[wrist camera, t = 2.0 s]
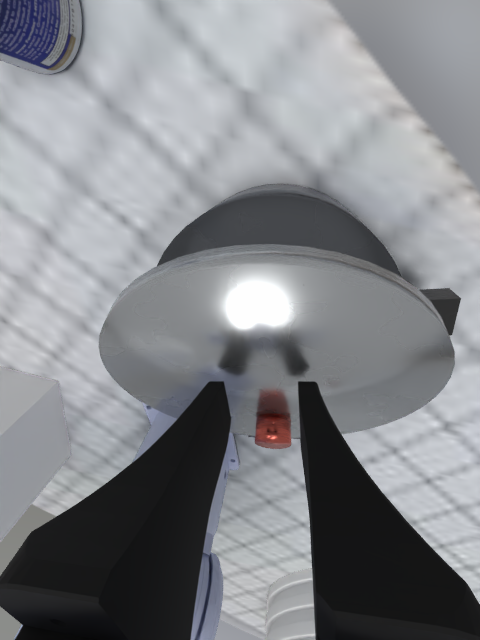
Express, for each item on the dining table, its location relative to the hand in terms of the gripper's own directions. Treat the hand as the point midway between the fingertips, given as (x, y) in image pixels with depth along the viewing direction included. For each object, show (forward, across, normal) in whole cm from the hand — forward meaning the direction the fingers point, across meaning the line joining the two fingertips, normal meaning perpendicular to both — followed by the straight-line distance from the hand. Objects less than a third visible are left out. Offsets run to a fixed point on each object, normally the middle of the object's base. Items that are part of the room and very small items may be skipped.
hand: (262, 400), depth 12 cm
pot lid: (+2, 0, 0) cm, 2 cm away
